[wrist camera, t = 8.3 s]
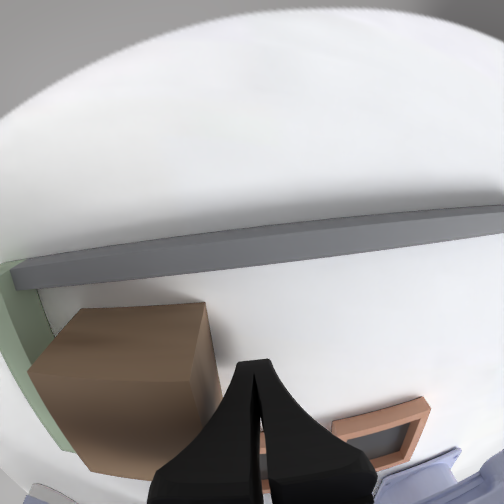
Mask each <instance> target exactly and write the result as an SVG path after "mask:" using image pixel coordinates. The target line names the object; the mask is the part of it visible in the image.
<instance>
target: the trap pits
mask: <svg viewBox="0 0 504 504" xmlns="http://www.w3.org/2000/svg"><path fill="white" fill-rule="evenodd" d="M430 411H431V408H430V406H429V405H428V403H427V402H426V400H425V399H424V397H421V398H418V399H415V400H412V401H408V402H405V403H402V404H399V405H396V406H392V407H389V408H385V409H382V410H378V411H374V412H370V413H366V414H362V415H358V416H354V417H350V418H345V419H341V420H336V421H333V422H332V432H331V433H332V434H333V435H335V436H337V437H338V438H340V439H341V440H343V441H345V442H346V443H348V444H350V445H352V446H354V447H356V448H358V449H360V450H362V451H363V452H364V453H365V454H366V456H367V457H368V458H369V460H370V462H371V463H372V465H373V467H374V468H375V470H376V472H378V471H381V470H384V469H387V468H390V467H393V466H396V465H399V464H402V463H405V462H408V461H409V460H410V458H411V456H412V454H413V452H414V450H415V447H416V445H417V443H418V441H419V438H420V436H421V434H422V431H423V429H424V426H425V424H426V421H427V419H428V416H429V414H430ZM260 470H261V481H262V491H263V494H265V493H271V492H270V487H269V481H268V471H267V457H266V444H265V435H264V432H260Z"/></svg>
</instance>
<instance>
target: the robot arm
mask: <svg viewBox="0 0 504 504" xmlns="http://www.w3.org/2000/svg"><path fill="white" fill-rule="evenodd" d="M260 416H261V421H262V426H263V431H264V435H265V444H266V457H267V471H268V481H269V487H270V492H271V498H272V504H504V449H503V450H502V451H500V452H499V453H497V454H495V455H494V456H492V457H491V458H489V459H488V460H487V461H486V462H485V463H484V464H483V465H482V467H481V468H480V470H479V471H478V472H477V473H475V474H473V475H471V476H469V477H468V478H466V479H464V480H462V481H460V482H457V480H456V478H455V477H454V475H453V473H452V471H451V467H452V466H453V464H454V463H455V461H456V460H457V458H458V456H459V455H460V453H461V451H462V450H461V448H457V449H455V450H453V451H451V452H448V453H446V454H444V455H442V456H440V457H437V458H435V459H433V460H430V461H428V462H425V463H423V464H420V465H418V466H415V467H412V468H410V469H407V470H404V471H401V472H399V473H396V474H393V475H390V476H387V477H385V478H384V479H383V481H382V483H381V485H380V487H379V490H378V492H377V494H376V496H375V498H373V495H372V491H373V489H374V487H375V484H376V482H377V477H378V476H377V473H376V470H375V468H374V467H373V465H372V463H371V462H370V460H369V458H368V457H367V456H366V454H365V453H364V452H363V451H362V450H360V449H358V448H356V447H354V446H352V445H350V444H348V443H346V442H345V441H343V440H341V439H340V438H338V437H337V436H335V435H333V434H332V433H331V432H329V431H328V430H327V429H325V428H324V427H323V426H321V425H320V424H319V423H317V422H316V421H315V420H314V419H313V418H312V417H311V416H310V415H309V414H308V413H307V412H306V411H304V409H303V408H302V407H301V406H300V405H299V404H298V403H297V402H296V401H295V399H294V398H293V397H292V396H291V395H290V393H289V392H288V391H287V389H286V388H285V386H284V385H283V383H282V382H281V380H280V379H279V377H278V375H277V374H276V372H275V370H274V368H273V365H272V363H271V360H269V359H260V360H251V361H242V362H238V363H237V364H236V369H235V372H234V375H233V377H232V380H231V382H230V385H229V387H228V389H227V391H226V393H225V395H224V397H223V399H222V401H221V402H220V404H219V406H218V408H217V409H216V411H215V413H214V414H213V416H212V417H211V419H210V420H209V421H208V423H207V424H206V425H205V427H204V428H203V429H202V430H201V431H200V433H199V434H198V435H197V436H196V437H195V438H194V439H193V441H192V442H191V443H190V444H188V445H187V446H186V447H185V448H184V449H183V450H182V451H181V452H180V453H179V454H178V455H177V456H175V457H174V458H173V459H172V460H170V461H169V462H168V463H166V464H165V465H163V466H162V467H161V468H159V469H158V470H156V472H155V475H154V477H153V480H152V482H151V485H150V488H149V493H148V499H147V504H264V501H263V491H262V481H261V470H260ZM23 504H49V503H47V502H45V501H43V500H40V499H37V498H35V497H32V496H30V495H26V498H25V500H24V502H23Z"/></svg>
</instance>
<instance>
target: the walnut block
mask: <svg viewBox="0 0 504 504" xmlns="http://www.w3.org/2000/svg"><path fill="white" fill-rule="evenodd" d="M27 373H28V375H29V377H30V379H31V381H32V383H33V385H34V387H35V389H36V390H37V392H38V394H39V396H40V398H41V399H42V401H43V403H44V405H45V406H46V408H47V410H48V411H49V413H50V414H51V416H52V418H53V419H54V421H55V422H56V424H57V426H58V427H59V429H60V430H61V432H62V433H63V435H64V436H65V438H66V439H67V440H68V442H69V443H70V445H71V446H72V448H73V449H74V450H75V452H76V453H77V454H78V456H79V457H80V458H81V460H82V461H83V462H84V464H85V465H86V466H87V467H88V469H89V470H90V471H91V472H95V473H100V474H106V475H111V476H117V477H124V478H131V479H138V480H147V481H152V480H153V477H154V475H155V472H156V470H158V469H159V468H161V467H162V466H163V465H165V464H166V463H168V462H169V461H170V460H172V459H173V458H174V457H175V456H177V455H178V454H179V453H180V452H181V451H182V450H183V449H184V448H185V447H186V446H187V445H188V444H190V443H191V442H192V441H193V439H194V438H195V437H196V436H197V435H198V434H199V433H200V431H201V430H202V429H203V428H204V427H205V425H206V424H207V423H208V421H209V420H210V419H211V417H212V416H213V414H214V413H215V411H216V409H217V408H218V406H219V404H220V402H221V401H222V399H223V396H222V391H221V386H220V381H219V376H218V371H217V366H216V360H215V355H214V350H213V344H212V338H211V333H210V327H209V321H208V315H207V309H206V303H205V302H200V303H186V304H171V305H154V306H136V307H114V308H85V309H80V310H79V311H78V312H77V314H76V315H75V316H74V317H73V318H72V319H71V320H70V321H69V322H68V324H67V325H66V326H65V327H64V328H63V329H62V330H61V331H60V333H59V334H58V335H57V336H56V337H55V338H54V339H53V341H52V342H51V343H50V344H49V345H48V346H47V348H46V349H45V350H44V351H43V352H42V354H41V355H40V356H39V357H38V358H37V360H36V361H35V362H34V363H33V364H32V366H31V367H30V368H29V369H28V371H27Z"/></svg>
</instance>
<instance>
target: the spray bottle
mask: <svg viewBox="0 0 504 504" xmlns="http://www.w3.org/2000/svg"><path fill="white" fill-rule="evenodd" d="M28 495H30V496H32V497H35V498H37V499H40V500H43V501H45V502H47V503H49V504H77V503H76V502H74V501H73V500H71V499H70V498H68V497H67V496H65V495H63V494H61V493H59V492H57V491H55V490H53V489H51V488H49V487H47V486H44V485H41V484H33V485H32V487H31V490H30V492H29V494H28Z"/></svg>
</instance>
